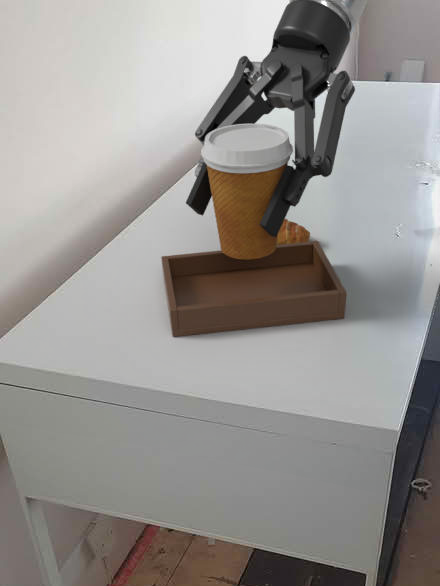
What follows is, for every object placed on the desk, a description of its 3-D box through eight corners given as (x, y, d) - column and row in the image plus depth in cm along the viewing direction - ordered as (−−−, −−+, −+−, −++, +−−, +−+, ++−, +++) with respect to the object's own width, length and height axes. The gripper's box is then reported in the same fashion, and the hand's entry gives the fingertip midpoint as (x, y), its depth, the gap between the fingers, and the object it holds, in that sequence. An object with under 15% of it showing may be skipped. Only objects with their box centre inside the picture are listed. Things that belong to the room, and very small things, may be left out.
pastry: (312, 237, 97) (314, 209, 95) (304, 259, 93) (305, 231, 90) (245, 232, 99) (244, 205, 97) (234, 254, 95) (233, 227, 92)
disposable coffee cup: (302, 259, 79) (306, 145, 71) (217, 272, 77) (212, 157, 69) (275, 224, 86) (277, 117, 78) (198, 236, 84) (191, 128, 76)
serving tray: (316, 265, 91) (317, 240, 89) (344, 318, 81) (346, 292, 79) (163, 280, 90) (161, 256, 88) (172, 337, 80) (170, 310, 78)
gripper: (424, 55, 73) (329, 260, 75) (251, 33, 84) (172, 212, 85) (405, 3, 66) (302, 229, 68) (221, -13, 77) (136, 181, 79)
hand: (230, 219), depth 77 cm, fingers closed on disposable coffee cup, 9 cm apart
